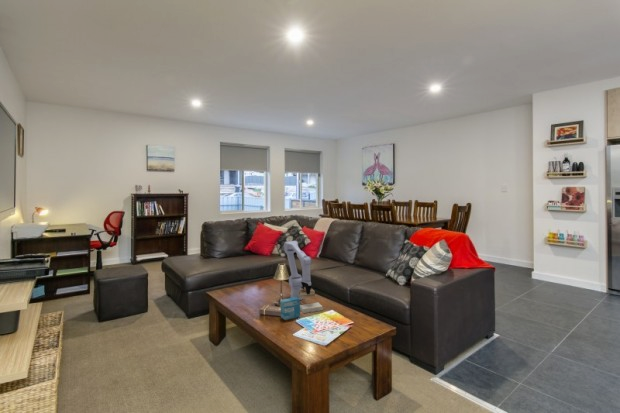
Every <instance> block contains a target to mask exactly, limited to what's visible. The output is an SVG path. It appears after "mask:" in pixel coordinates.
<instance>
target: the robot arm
mask: <svg viewBox="0 0 620 413" xmlns="http://www.w3.org/2000/svg"><path fill="white" fill-rule="evenodd" d="M283 249H284V250H283V251H284V253H285V254H286V256H287V260H288V266H289V270H290V274H291V275H290V276H289V277H288V285H289V288H290V296H289V298H294V297H296V298H298V299H299V300H303V299H304V298H301V296H299V290H304V287H305V288H306V293H307V294H310V291H311V289H312V288H313V284H312V282H311V280H312V279H311V265H312V264H313V260H312V257H311V256H308V255H307V254H306V253H305V252H304V251H303V250H301V248H300V247H299V243H298V241H297V240H290V241H285V242H284V243H283ZM294 253H296V256H297V258H298V259H299V261H300V265H301V270H302V272H301V274H302V275H301V274H299V273H298V269H297V264H296V259H295V254H294Z"/></svg>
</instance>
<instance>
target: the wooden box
mask: <svg viewBox="0 0 620 413" xmlns="http://www.w3.org/2000/svg"><path fill="white" fill-rule="evenodd" d="M315 293H316V291H315V290H314V289H313V288H311V291H310V294H307V293H306V292H304V290H303V289H301V290H299V296H301V298H303V299H308V298H313V297H316V294H315Z"/></svg>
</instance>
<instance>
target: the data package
mask: <svg viewBox="0 0 620 413" xmlns="http://www.w3.org/2000/svg"><path fill="white" fill-rule="evenodd" d="M300 305H301V301H300V300H299V299H298V298H296V297H294V298H290V297H289V298H283V299H281V300H280V317H281V319H282V320H284V321H286V320H287V321H288V320H292V319H296V318H299V317H301V310H300Z"/></svg>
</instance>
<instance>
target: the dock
mask: <svg viewBox="0 0 620 413" xmlns="http://www.w3.org/2000/svg"><path fill="white" fill-rule="evenodd" d="M321 311H324V307H323V305H321V303H320V302H311V303H305V304H300V312H302V313H303V314H306V313H307V314H308V313H313V312H315V313H316V312H321Z"/></svg>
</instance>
